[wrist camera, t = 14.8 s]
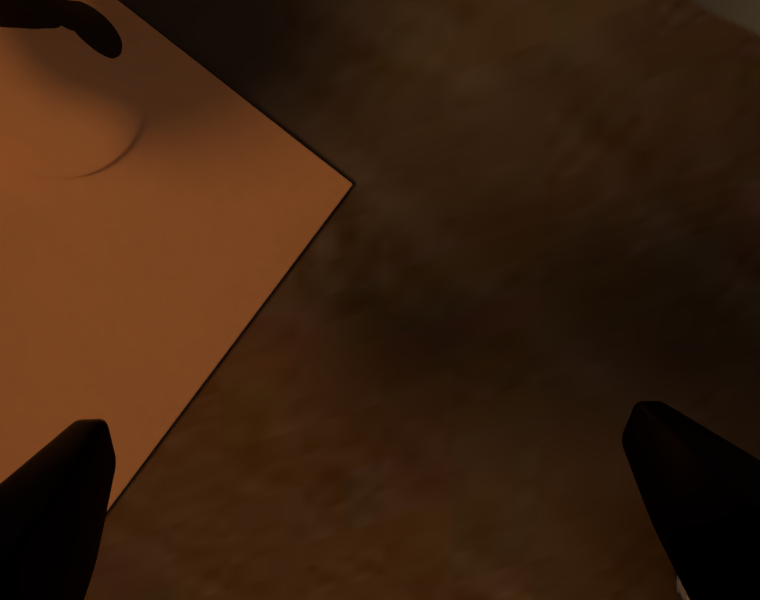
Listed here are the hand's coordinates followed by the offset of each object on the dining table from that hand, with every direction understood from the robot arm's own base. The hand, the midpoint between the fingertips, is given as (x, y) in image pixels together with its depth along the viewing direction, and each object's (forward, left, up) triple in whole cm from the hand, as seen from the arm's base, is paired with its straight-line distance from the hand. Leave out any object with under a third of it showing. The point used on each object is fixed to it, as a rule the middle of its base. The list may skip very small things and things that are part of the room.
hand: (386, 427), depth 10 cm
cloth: (-6, +11, -12) cm, 17 cm away
